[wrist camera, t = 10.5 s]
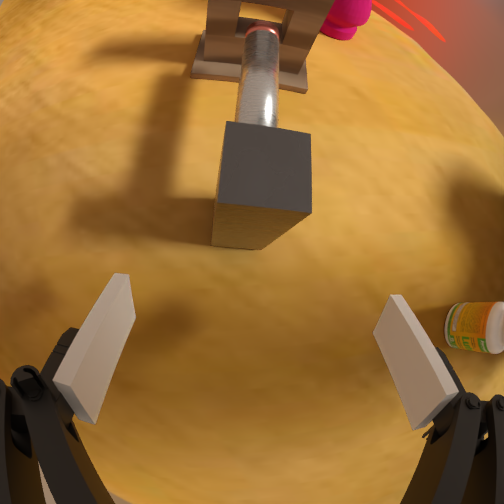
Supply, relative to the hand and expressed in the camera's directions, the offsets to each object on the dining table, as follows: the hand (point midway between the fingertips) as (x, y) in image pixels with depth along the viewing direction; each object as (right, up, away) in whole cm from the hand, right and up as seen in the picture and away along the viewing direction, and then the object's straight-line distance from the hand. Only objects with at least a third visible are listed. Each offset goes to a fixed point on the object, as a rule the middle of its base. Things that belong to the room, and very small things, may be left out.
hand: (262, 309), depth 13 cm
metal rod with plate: (-1, +12, +10) cm, 16 cm away
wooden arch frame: (-1, +24, +12) cm, 27 cm away
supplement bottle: (+23, -6, +13) cm, 27 cm away
